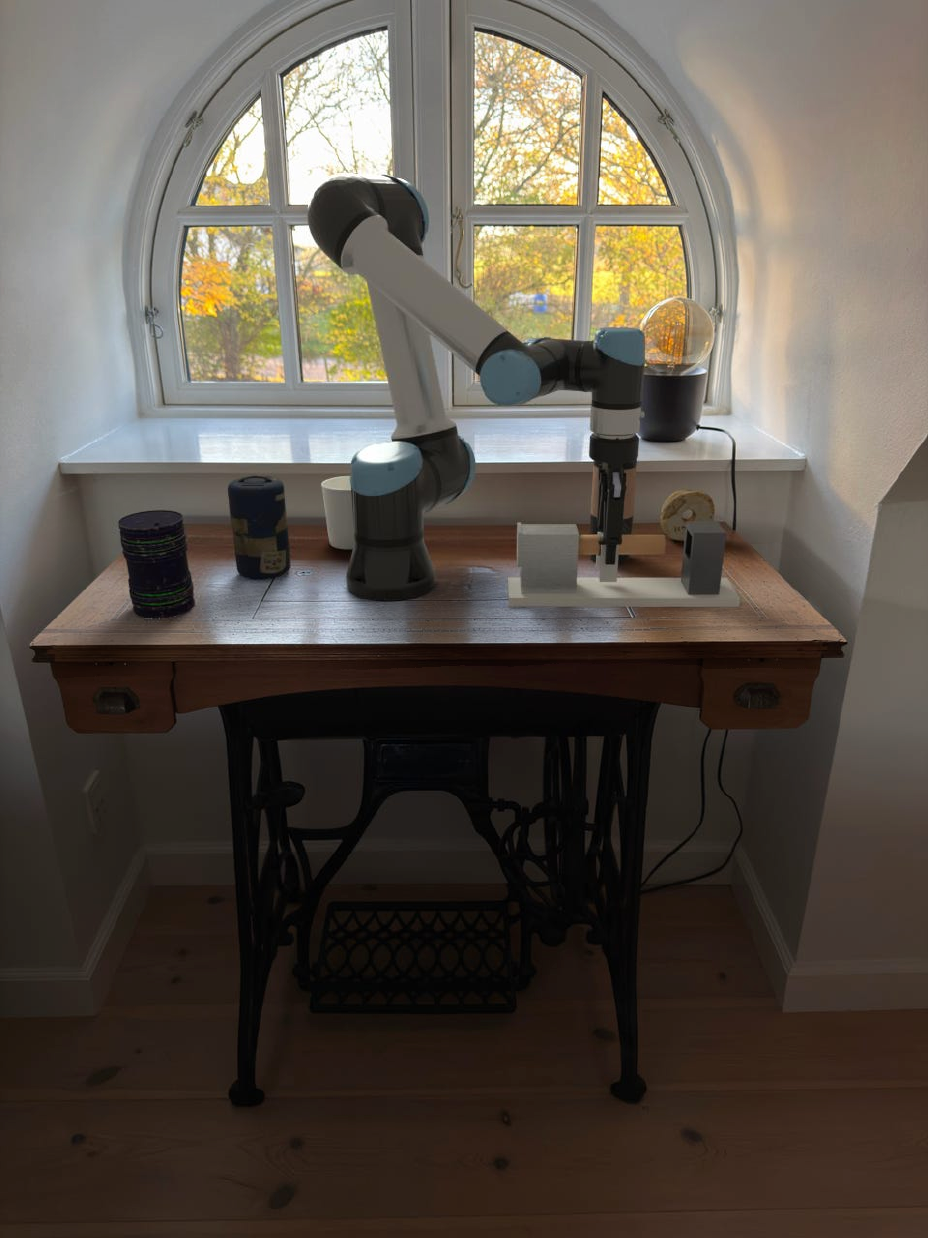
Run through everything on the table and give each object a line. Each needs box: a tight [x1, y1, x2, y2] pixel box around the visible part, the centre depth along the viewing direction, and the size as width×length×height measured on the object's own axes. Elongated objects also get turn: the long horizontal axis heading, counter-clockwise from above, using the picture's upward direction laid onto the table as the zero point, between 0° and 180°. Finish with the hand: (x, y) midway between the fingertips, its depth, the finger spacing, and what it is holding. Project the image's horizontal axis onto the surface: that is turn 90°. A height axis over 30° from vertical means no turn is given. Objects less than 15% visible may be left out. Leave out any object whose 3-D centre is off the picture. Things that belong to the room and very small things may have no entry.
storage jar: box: [117, 509, 196, 620], centre depth 142 cm, size 10×10×15 cm
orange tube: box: [578, 533, 667, 556], centre depth 144 cm, size 22×4×4 cm, turn 89°
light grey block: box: [516, 522, 580, 594], centre depth 145 cm, size 10×5×10 cm, turn 89°
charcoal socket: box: [680, 520, 727, 595], centre depth 144 cm, size 5×6×10 cm
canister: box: [227, 474, 292, 581], centre depth 154 cm, size 10×10×18 cm
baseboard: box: [507, 577, 741, 608], centre depth 147 cm, size 37×9×2 cm, turn 89°
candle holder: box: [320, 475, 355, 550], centre depth 171 cm, size 10×10×12 cm
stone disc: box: [659, 489, 716, 542], centre depth 172 cm, size 10×4×10 cm, turn 97°
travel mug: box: [589, 458, 638, 566], centre depth 160 cm, size 8×8×20 cm
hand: (605, 575), depth 146 cm, fingers open, 4 cm apart
